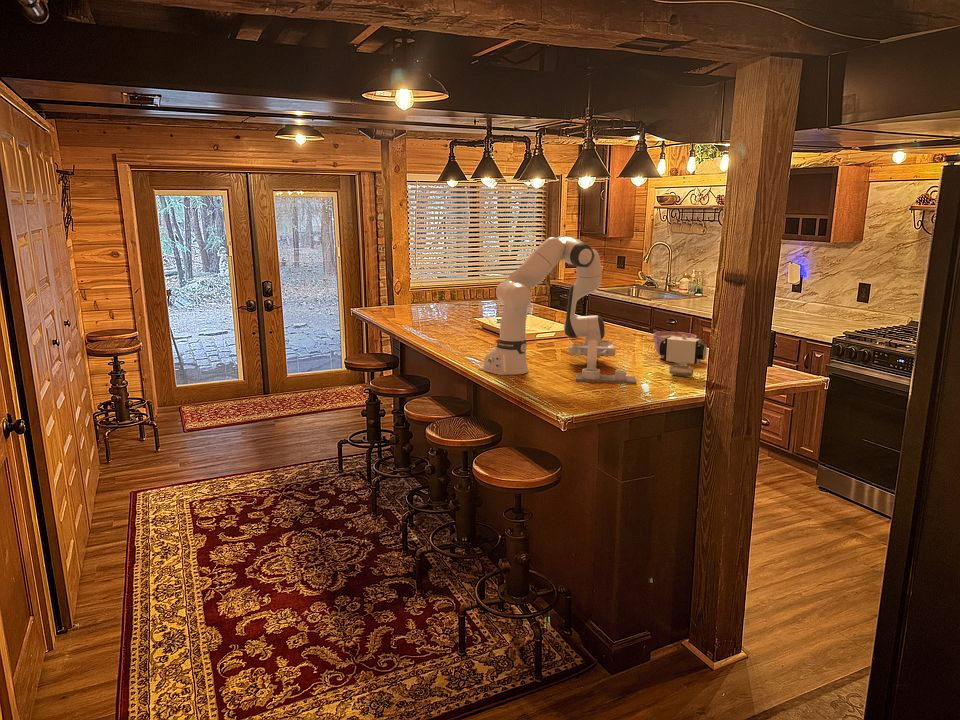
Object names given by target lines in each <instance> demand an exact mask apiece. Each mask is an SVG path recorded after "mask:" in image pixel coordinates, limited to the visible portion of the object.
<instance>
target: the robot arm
mask: <svg viewBox="0 0 960 720" xmlns="http://www.w3.org/2000/svg"><path fill="white" fill-rule="evenodd" d="M560 261H563V262H565V263H566V264H568V265H570V266H571V265H572V266H574V267H576V279H575V281H574V283H572V284H571V285H570V287H569V291H568V299H567V307H566V316H565V320H564V323H563V332H564V335H566V336H567V337H568V338H570V339H575V338H584V340H583V343H582V344H581V343H572V344H571V345H569V347H568V349H569V350H568V354H569V355H576V356H578V355H579V356H586V357H587V351H588V341H589V340H595V341H597V358H599V357H615V355H616V347H615V345H614V344H613V342H612V341H609V340H603V339H604V337H605V335H606V334H605V331H606V330H605V323H604V322H605V321H604V320H603V318H602V317H601V316H600V315H596V314H595V315H593V314H592V315H580V316H578V315H576V309H577V308H576V307H577V302H579V300H580V299H581V298H583V297H585V296H588V295H590V294H592V293H594V292H595V291H597V290H598V289H599V288H600V286H601V285H602V279H603V273H602V271H603V270H602V263H601V258H600V255H599V252H598V251H597V250H596V249H594V248H592V247H591V246H590V245H589V244H588V243H586V242H585V241H582V240H581V239H578V238H576V237H573V236H570V235H566V234H565V235H564V234H563V235H559V236H558V237H555V236H551V237H548V238H546V239H544V241H543V242H541V243H540V244H539V245H538V246H537V247H536V248H535V250H533V252H532V253H531V254H530V255H529V256H528V257H527V259H526V260H525V261H524V262H523V263H522V264H521V265H520V266H519V267H518V268H517V269H516V270H514V271H513V272H512V273H511V274H510V275H508V277H507V278H505V279H504V280H503V281H502V282H500V283H498V285H497V287H496V289H495V295H496V298H497V300H498V301H499V303H501V304H502V305H503V310H502V315H501V319H500V321H499V339H497V340H495V341H494V344H496V347H494V348H493V349H492V350H490V351H489V352H488V353H487V354H485V356H484V359H483V364H481V365H479V366H478V370H481V371H484V372H488V373H491V374H495V375H499V376H506V375H523V374H527V373H529V368H528V363H527V356H526V355H527V339H526V330H527V329H526V327H527V326H526V325H527V318H528V313H529V307H530V304H531V303H532V300H533V294H532V291H531V290H532V289H533V288H534V287H536V286H537V285H539V284H540V283H542V282H543V281H544V280H545V278H546V277H548V275H549V274H550V273H551V272H552V270H553V269H554V268H555V267H556V265H557V264H558V263H559V262H560Z"/></svg>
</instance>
